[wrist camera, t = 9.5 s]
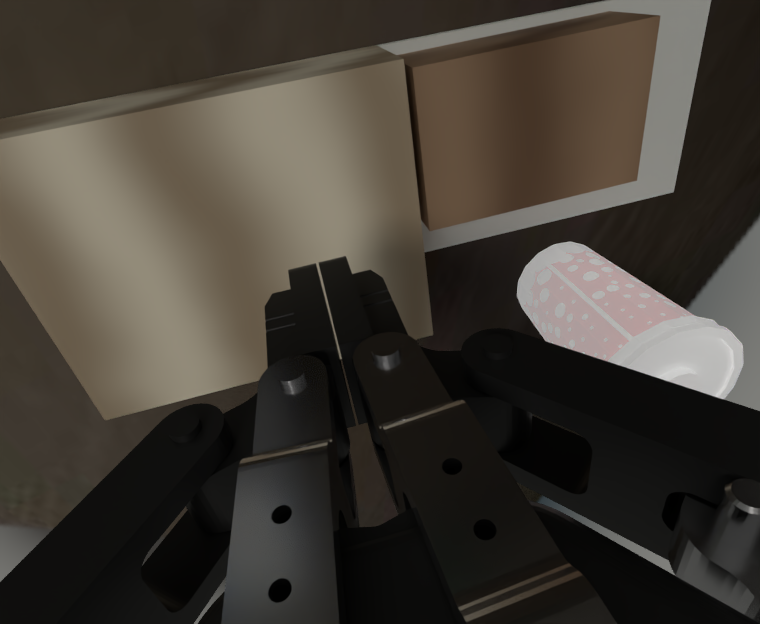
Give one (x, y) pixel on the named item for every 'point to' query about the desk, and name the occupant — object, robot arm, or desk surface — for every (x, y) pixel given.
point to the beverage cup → (625, 321)
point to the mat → (663, 119)
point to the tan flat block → (207, 217)
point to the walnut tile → (529, 115)
